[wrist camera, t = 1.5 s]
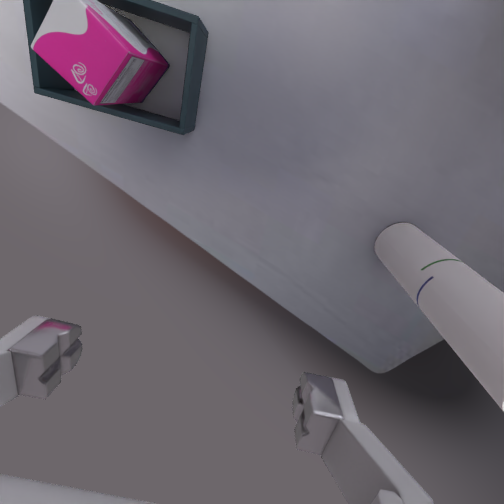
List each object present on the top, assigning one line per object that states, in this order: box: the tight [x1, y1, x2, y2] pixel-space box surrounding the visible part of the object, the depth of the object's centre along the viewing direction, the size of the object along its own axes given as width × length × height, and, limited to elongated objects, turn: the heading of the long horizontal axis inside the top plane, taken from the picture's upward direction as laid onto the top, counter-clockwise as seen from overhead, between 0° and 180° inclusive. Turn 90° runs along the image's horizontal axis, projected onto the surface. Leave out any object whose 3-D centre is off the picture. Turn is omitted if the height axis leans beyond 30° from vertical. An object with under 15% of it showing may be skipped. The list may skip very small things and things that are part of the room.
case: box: [23, 0, 208, 135], centre depth 28 cm, size 15×10×6 cm
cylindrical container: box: [374, 223, 504, 411], centre depth 31 cm, size 7×7×25 cm
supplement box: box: [31, 0, 169, 106], centre depth 25 cm, size 6×6×12 cm
